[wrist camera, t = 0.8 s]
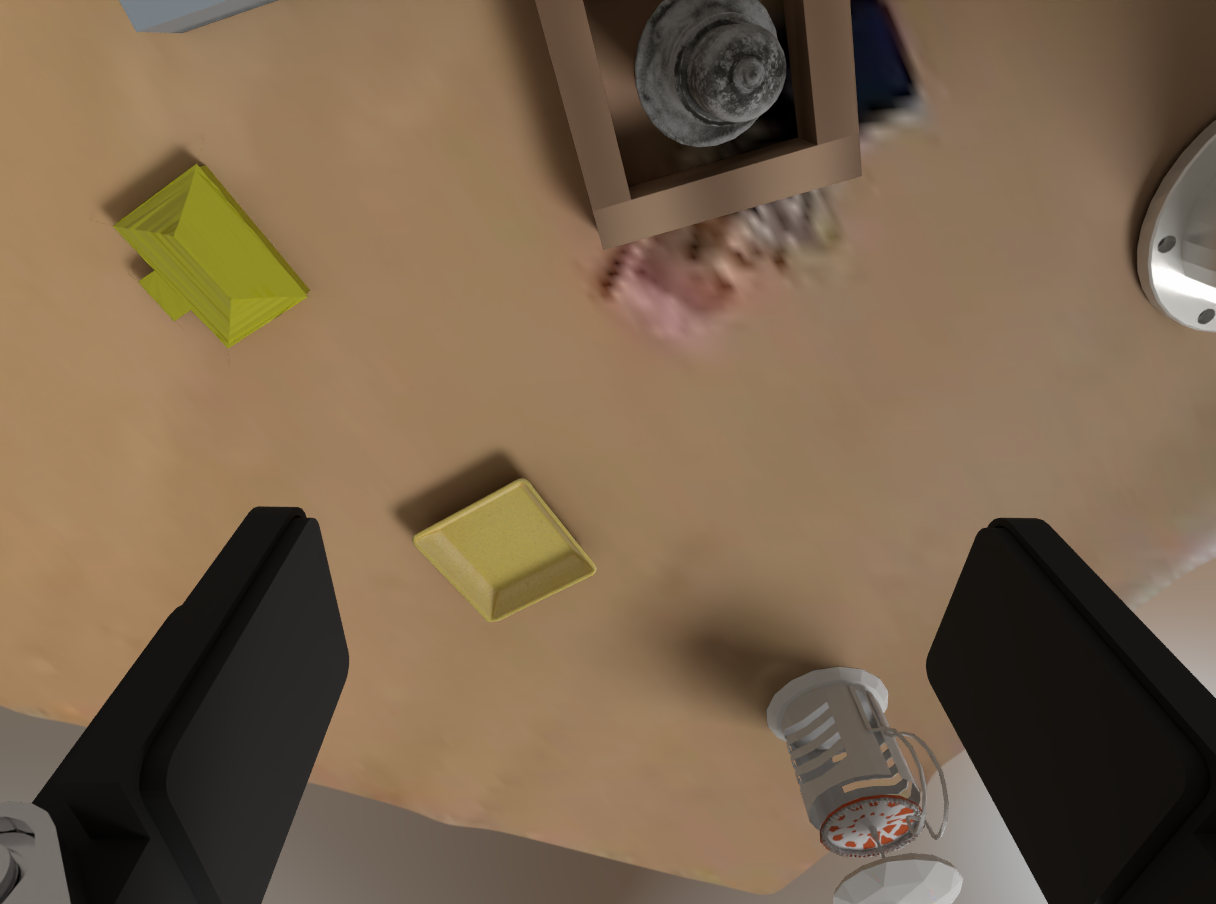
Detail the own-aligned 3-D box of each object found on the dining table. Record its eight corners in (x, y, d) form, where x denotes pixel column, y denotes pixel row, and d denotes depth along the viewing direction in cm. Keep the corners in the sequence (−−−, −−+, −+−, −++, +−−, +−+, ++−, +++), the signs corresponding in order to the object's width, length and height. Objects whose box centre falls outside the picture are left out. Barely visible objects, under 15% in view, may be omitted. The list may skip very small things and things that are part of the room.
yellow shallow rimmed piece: (413, 519, 43) (406, 539, 41) (526, 458, 41) (524, 477, 39) (493, 603, 47) (489, 625, 45) (599, 551, 45) (600, 572, 43)
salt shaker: (633, -18, 29) (665, -53, 18) (769, -10, 29) (876, -39, 19) (624, 134, 32) (648, 177, 21) (748, 140, 32) (830, 186, 22)
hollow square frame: (812, -150, 27) (837, -171, 24) (839, 165, 33) (861, 175, 30) (523, -52, 28) (517, -62, 25) (601, 234, 34) (603, 250, 31)
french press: (743, 732, 55) (850, 1169, 34) (820, 637, 50) (1006, 1086, 28) (844, 757, 57) (1003, 1181, 36) (928, 669, 52) (1174, 1106, 31)
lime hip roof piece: (357, 295, 36) (341, 313, 33) (229, 377, 38) (205, 399, 35) (212, 113, 31) (181, 119, 29) (75, 217, 33) (36, 231, 31)
